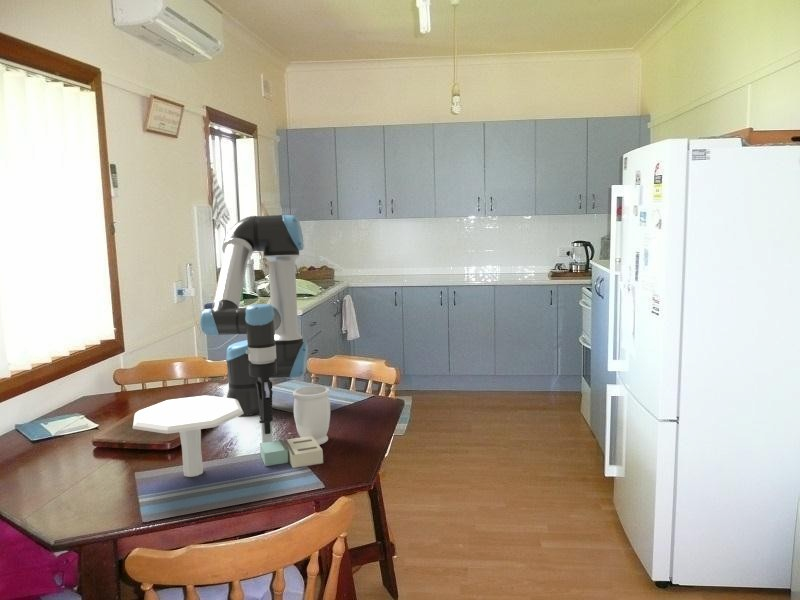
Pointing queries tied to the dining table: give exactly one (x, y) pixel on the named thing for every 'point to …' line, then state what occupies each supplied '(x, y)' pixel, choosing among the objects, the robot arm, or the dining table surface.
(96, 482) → the dining table surface
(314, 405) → the jar
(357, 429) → the dining table surface
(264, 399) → the robot arm
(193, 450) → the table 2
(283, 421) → the dining table surface
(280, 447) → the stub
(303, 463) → the cream slotted block
